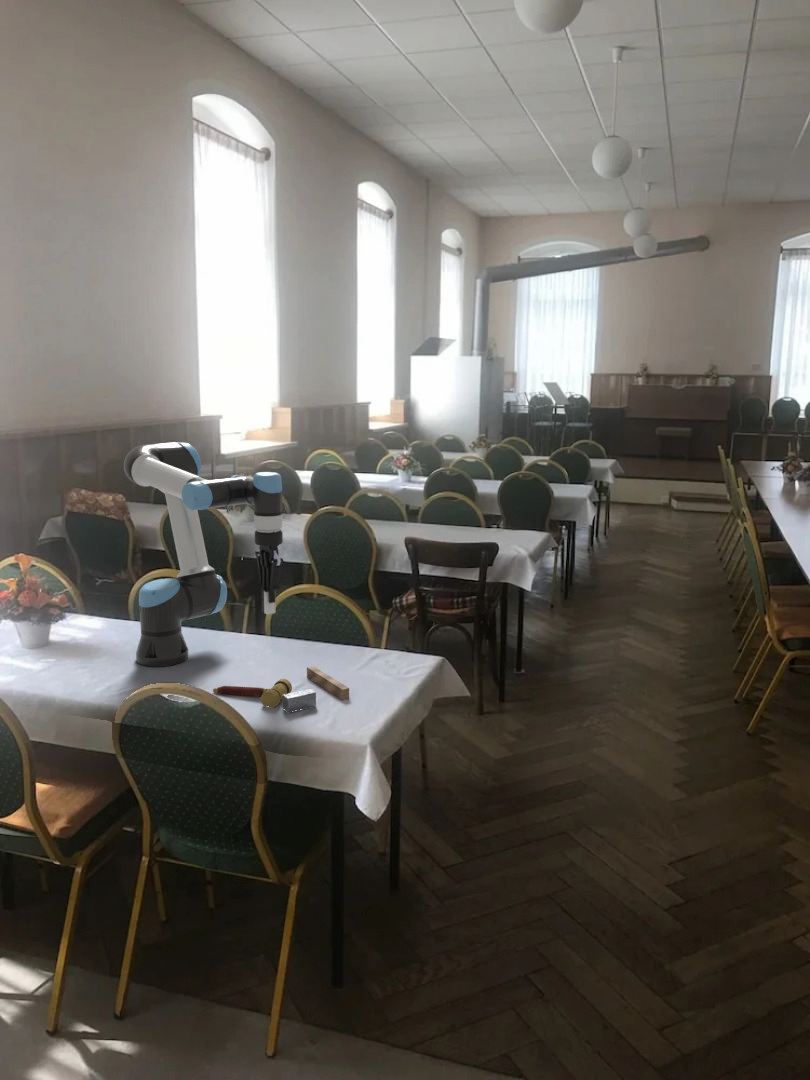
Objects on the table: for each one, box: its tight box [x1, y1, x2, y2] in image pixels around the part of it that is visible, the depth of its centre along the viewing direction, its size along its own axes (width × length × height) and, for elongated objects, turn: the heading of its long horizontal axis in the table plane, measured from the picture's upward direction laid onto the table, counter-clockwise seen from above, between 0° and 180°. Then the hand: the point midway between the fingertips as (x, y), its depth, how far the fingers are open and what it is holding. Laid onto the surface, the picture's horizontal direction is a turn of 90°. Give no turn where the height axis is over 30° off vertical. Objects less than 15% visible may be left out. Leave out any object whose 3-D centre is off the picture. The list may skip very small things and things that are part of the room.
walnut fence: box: [306, 665, 350, 701], centre depth 234 cm, size 20×2×3 cm, turn 35°
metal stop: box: [282, 688, 317, 713], centre depth 220 cm, size 3×8×4 cm, turn 124°
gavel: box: [212, 678, 293, 708], centre depth 227 cm, size 21×5×10 cm
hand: (269, 612), depth 236 cm, fingers closed
